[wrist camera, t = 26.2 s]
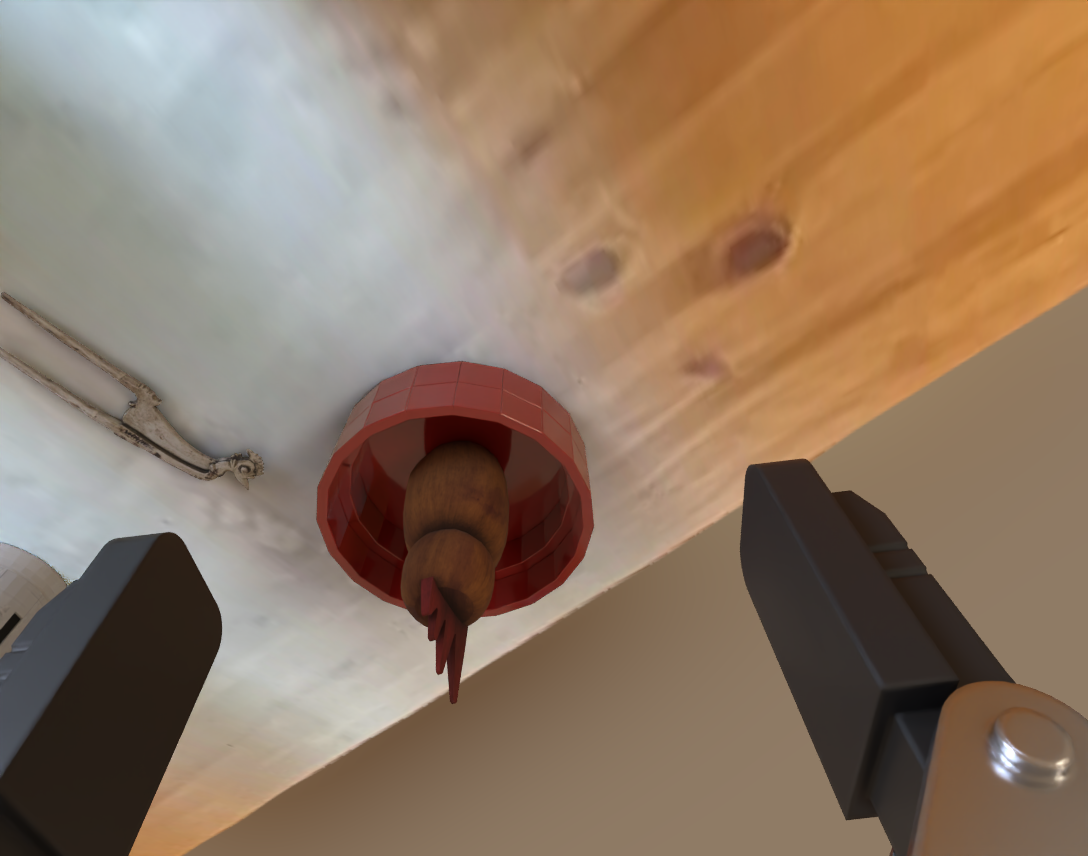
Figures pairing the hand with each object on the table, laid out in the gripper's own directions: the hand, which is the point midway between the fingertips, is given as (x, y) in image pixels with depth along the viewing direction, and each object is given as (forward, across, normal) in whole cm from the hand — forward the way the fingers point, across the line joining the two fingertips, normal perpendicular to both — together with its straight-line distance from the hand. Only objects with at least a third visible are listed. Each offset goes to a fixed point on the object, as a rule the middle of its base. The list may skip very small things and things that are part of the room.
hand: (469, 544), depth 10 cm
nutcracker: (+27, +22, +10) cm, 37 cm away
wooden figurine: (+26, +4, +17) cm, 32 cm away
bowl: (+27, +4, +17) cm, 32 cm away
